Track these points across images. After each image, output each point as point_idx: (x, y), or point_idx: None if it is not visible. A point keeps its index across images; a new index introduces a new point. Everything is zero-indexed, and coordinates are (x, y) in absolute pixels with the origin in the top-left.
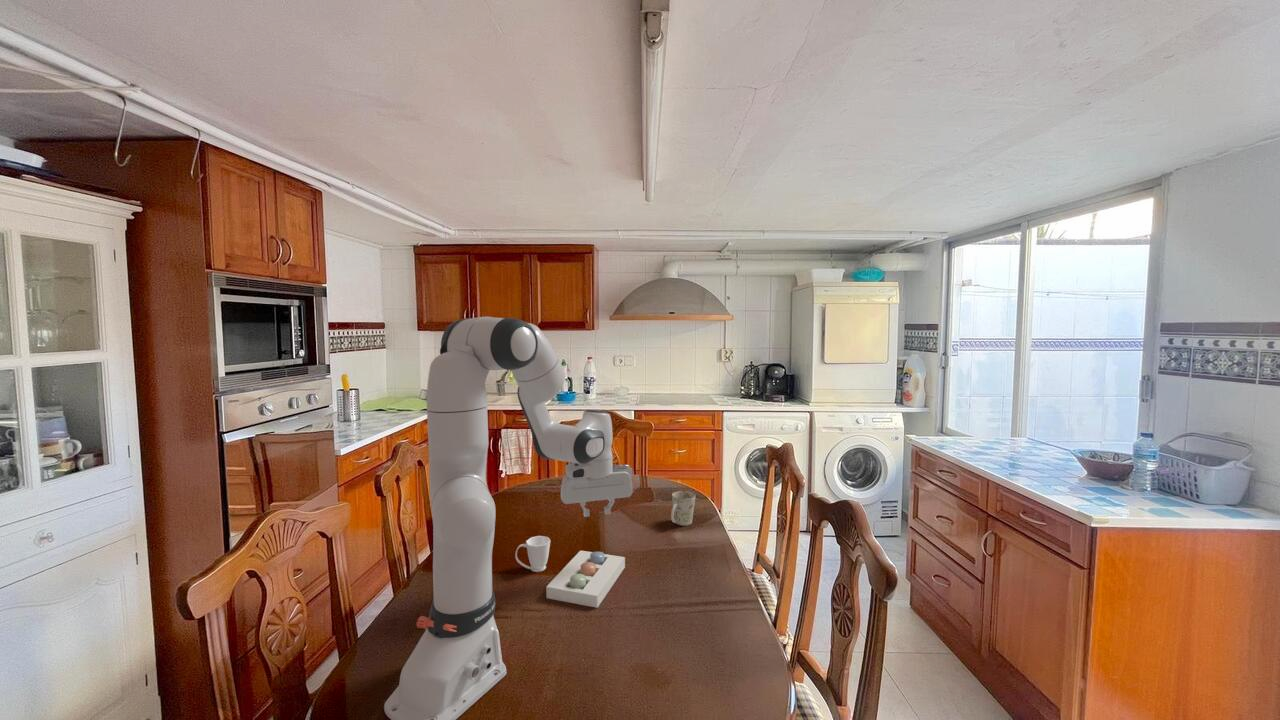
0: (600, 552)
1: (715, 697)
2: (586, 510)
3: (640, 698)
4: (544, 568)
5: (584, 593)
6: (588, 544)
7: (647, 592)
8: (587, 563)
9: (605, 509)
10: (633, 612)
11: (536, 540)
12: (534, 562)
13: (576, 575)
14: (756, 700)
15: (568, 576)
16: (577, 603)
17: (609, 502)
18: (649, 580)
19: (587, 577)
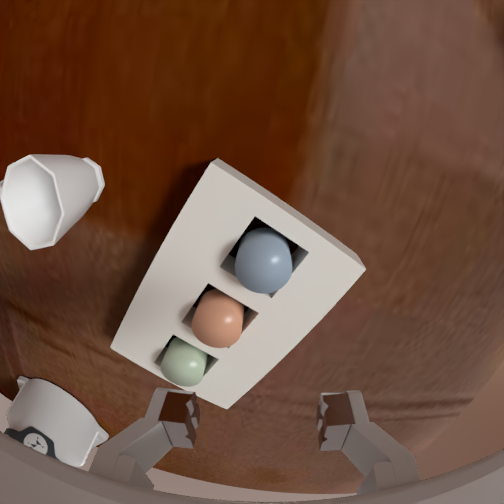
0: (281, 254)
1: (316, 489)
2: (168, 450)
3: (249, 484)
4: (99, 194)
5: (199, 396)
6: (272, 40)
7: (353, 371)
8: (215, 316)
9: (319, 443)
10: (295, 412)
11: (29, 163)
12: (60, 214)
13: (177, 362)
14: (346, 490)
15: (158, 327)
16: None
17: (374, 455)
18: (384, 332)
19: (212, 347)
